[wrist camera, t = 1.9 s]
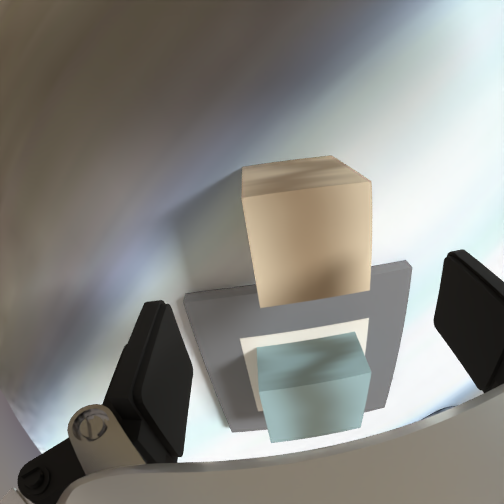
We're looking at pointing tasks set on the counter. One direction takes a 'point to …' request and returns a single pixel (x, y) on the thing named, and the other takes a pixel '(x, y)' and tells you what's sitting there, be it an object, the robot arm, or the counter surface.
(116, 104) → the counter surface
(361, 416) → the teal base block
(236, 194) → the counter surface
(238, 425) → the build board
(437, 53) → the counter surface
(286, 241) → the maple block
